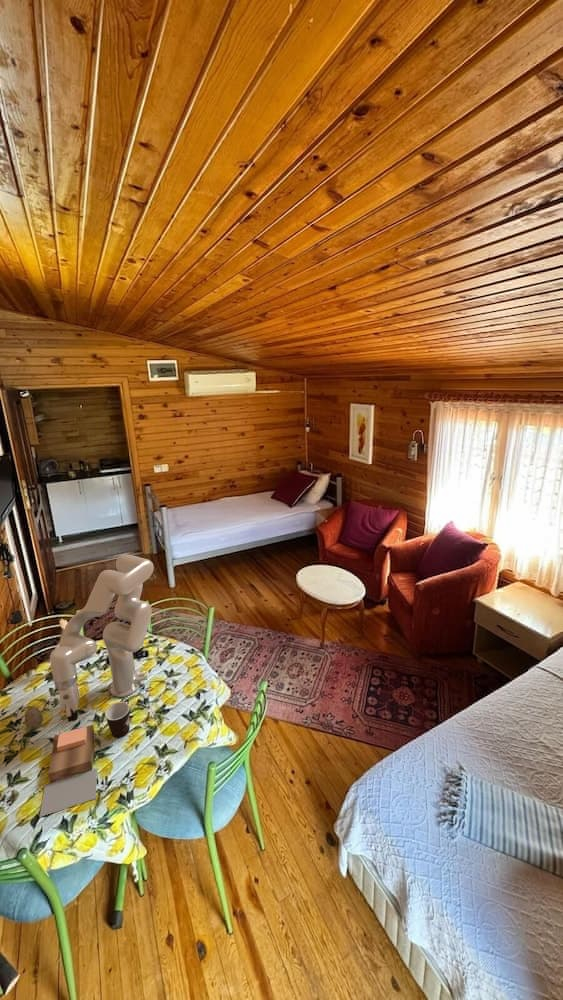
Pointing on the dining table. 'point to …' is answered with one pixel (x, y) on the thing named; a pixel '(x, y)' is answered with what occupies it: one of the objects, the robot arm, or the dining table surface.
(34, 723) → the decorative egg
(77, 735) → the salmon orange flat block
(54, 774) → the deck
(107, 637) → the robot arm
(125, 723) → the coffee mug
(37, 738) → the dining table surface
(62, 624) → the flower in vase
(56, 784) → the mat
